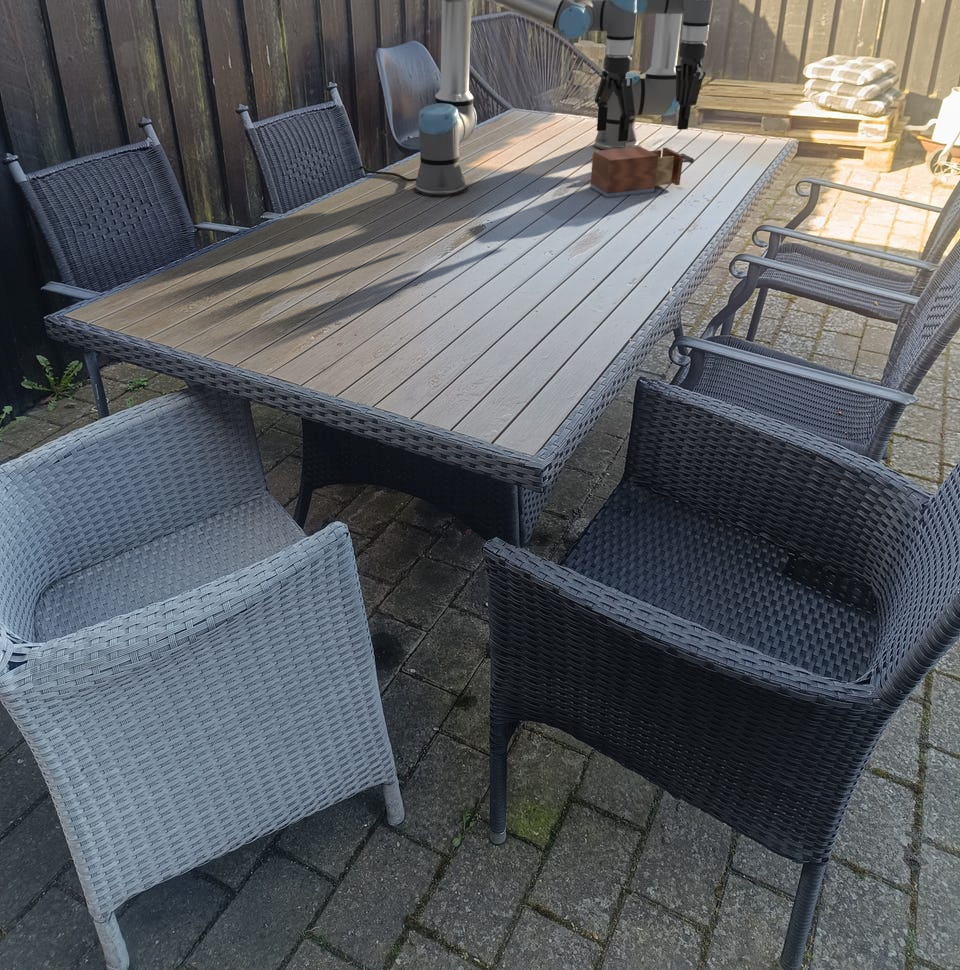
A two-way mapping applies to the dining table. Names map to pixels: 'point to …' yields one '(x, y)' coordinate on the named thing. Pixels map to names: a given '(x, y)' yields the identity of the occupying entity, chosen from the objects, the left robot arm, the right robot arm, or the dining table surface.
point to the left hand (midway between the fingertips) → (611, 135)
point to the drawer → (670, 166)
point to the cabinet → (623, 171)
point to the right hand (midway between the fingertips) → (682, 128)
